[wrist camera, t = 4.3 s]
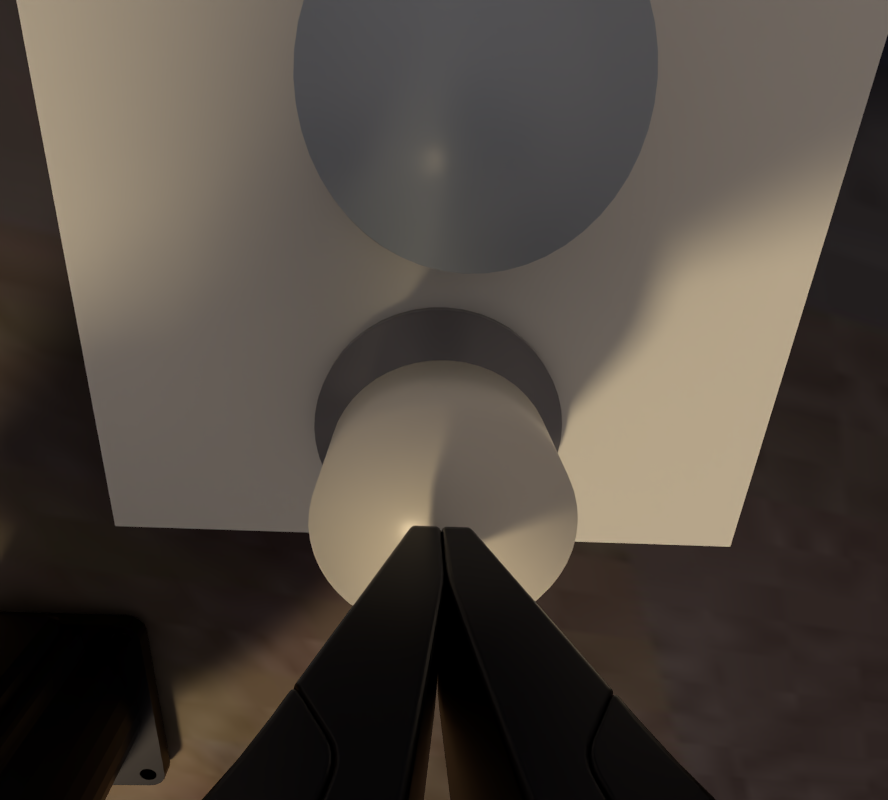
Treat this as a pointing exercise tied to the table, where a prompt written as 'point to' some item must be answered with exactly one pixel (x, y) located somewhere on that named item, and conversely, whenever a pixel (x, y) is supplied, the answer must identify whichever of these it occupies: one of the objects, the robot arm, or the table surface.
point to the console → (426, 289)
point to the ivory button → (441, 476)
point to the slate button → (474, 119)
